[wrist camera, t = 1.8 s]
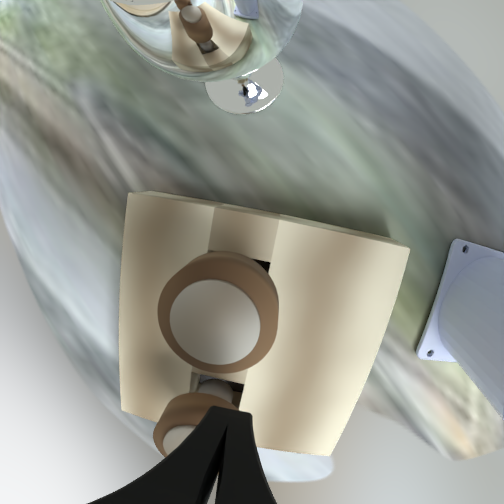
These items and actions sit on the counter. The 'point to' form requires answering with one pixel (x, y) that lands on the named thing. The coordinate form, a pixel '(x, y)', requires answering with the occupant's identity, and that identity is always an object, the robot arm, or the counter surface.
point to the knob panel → (289, 319)
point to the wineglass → (213, 44)
